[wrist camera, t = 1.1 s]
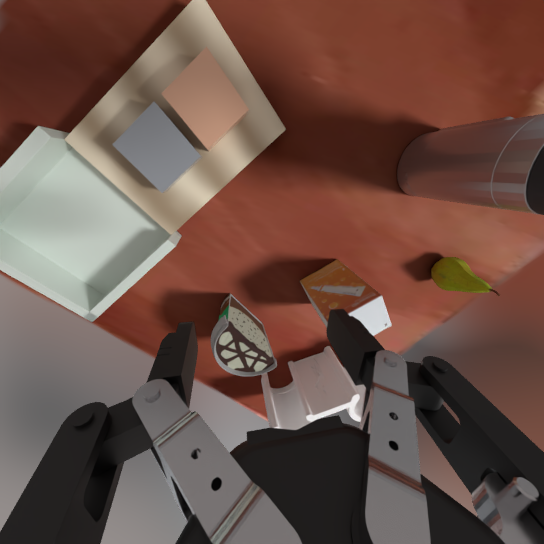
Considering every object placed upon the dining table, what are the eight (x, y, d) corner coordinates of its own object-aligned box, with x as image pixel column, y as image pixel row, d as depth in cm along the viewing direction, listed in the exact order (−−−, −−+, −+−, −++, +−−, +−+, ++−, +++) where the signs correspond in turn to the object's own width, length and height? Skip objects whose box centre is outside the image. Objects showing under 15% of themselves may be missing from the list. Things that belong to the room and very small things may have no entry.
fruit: (444, 279, 48) (508, 311, 37) (420, 282, 47) (478, 316, 36) (454, 251, 45) (526, 277, 34) (428, 254, 44) (494, 281, 33)
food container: (197, 308, 39) (190, 350, 30) (224, 287, 38) (224, 324, 29) (243, 345, 44) (248, 390, 35) (267, 327, 44) (278, 368, 35)
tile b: (161, 108, 24) (153, 101, 22) (202, 157, 27) (200, 155, 24) (123, 147, 25) (112, 144, 22) (167, 190, 28) (162, 193, 25)
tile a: (208, 60, 23) (206, 46, 21) (246, 115, 26) (249, 109, 23) (167, 101, 24) (161, 93, 21) (208, 151, 27) (207, 149, 24)
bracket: (267, 397, 52) (278, 456, 42) (256, 369, 48) (266, 428, 37) (364, 362, 54) (399, 410, 44) (362, 333, 50) (401, 378, 39)
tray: (69, 133, 26) (38, 125, 21) (181, 235, 33) (175, 246, 29) (-15, 225, 28) (-60, 235, 23) (108, 302, 35) (92, 322, 31)
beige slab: (202, 11, 24) (200, -9, 21) (280, 132, 30) (286, 129, 27) (80, 142, 26) (64, 139, 24) (175, 229, 33) (171, 235, 30)
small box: (337, 257, 40) (383, 294, 29) (347, 283, 43) (393, 326, 32) (297, 280, 40) (328, 325, 29) (311, 304, 43) (343, 354, 32)
